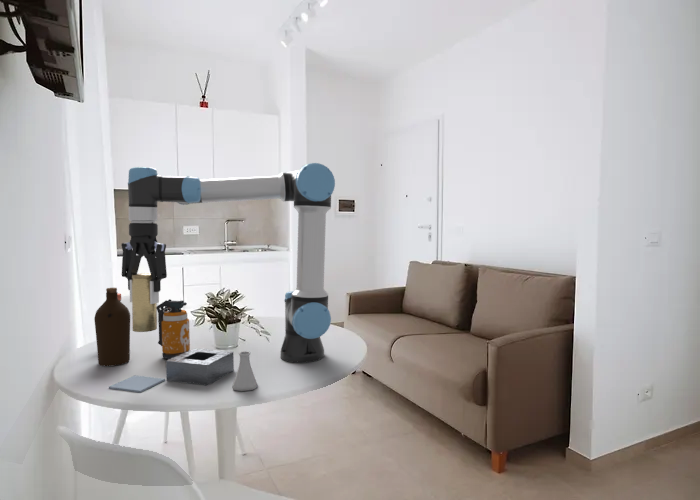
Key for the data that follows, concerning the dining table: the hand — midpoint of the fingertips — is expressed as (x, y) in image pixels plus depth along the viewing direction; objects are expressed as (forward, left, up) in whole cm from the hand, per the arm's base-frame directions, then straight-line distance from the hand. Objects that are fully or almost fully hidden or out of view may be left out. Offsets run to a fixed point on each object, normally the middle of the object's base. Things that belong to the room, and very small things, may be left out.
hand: (144, 302), depth 132 cm
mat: (+2, +2, -24) cm, 24 cm away
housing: (-11, -10, -24) cm, 28 cm away
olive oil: (+25, -13, -24) cm, 37 cm away
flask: (-29, -5, -24) cm, 38 cm away
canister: (+10, -24, -24) cm, 35 cm away
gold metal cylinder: (0, 0, -8) cm, 8 cm away
